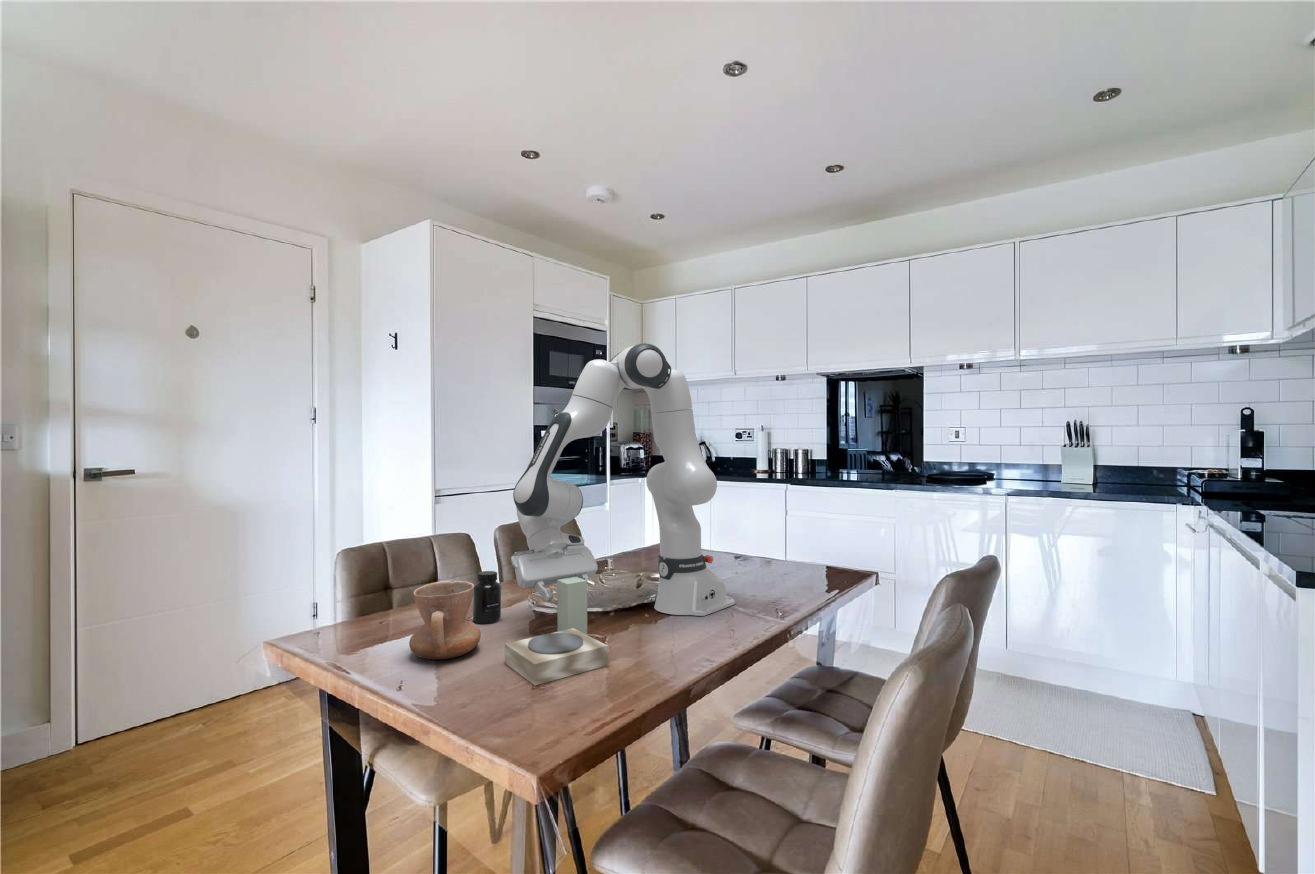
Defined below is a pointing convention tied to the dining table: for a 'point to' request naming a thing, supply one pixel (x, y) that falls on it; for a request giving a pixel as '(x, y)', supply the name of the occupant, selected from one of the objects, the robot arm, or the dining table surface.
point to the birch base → (555, 655)
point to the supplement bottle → (487, 598)
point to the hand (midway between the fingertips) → (567, 596)
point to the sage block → (572, 604)
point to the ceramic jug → (444, 620)
